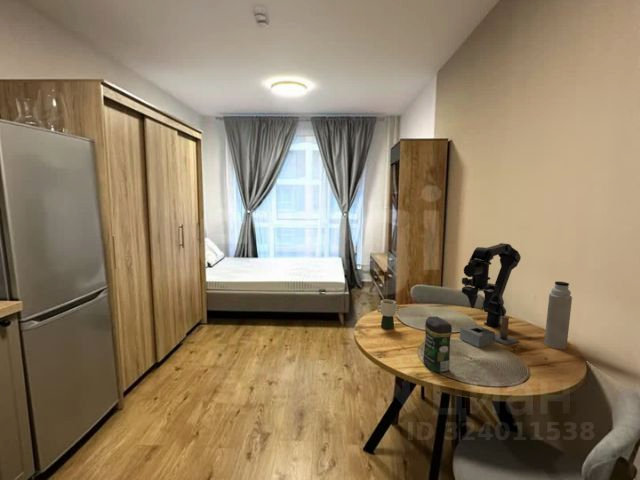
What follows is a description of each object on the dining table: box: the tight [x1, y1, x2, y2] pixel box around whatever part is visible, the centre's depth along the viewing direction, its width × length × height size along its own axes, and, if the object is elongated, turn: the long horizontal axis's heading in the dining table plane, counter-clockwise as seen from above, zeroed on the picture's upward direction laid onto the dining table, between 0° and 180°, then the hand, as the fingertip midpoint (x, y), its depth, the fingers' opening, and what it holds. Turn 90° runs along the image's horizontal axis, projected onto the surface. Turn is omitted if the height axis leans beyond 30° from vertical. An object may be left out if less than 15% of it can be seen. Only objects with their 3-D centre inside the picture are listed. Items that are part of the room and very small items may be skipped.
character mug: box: [377, 299, 400, 330], centre depth 163 cm, size 11×7×13 cm, turn 103°
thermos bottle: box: [544, 281, 573, 350], centre depth 145 cm, size 8×8×28 cm
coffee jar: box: [422, 315, 453, 373], centre depth 125 cm, size 10×8×19 cm
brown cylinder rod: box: [499, 315, 510, 340], centre depth 150 cm, size 3×3×10 cm
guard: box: [459, 324, 496, 348], centre depth 149 cm, size 10×10×5 cm
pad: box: [495, 333, 520, 347], centre depth 151 cm, size 9×9×1 cm
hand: (479, 306), depth 159 cm, fingers open, 9 cm apart
